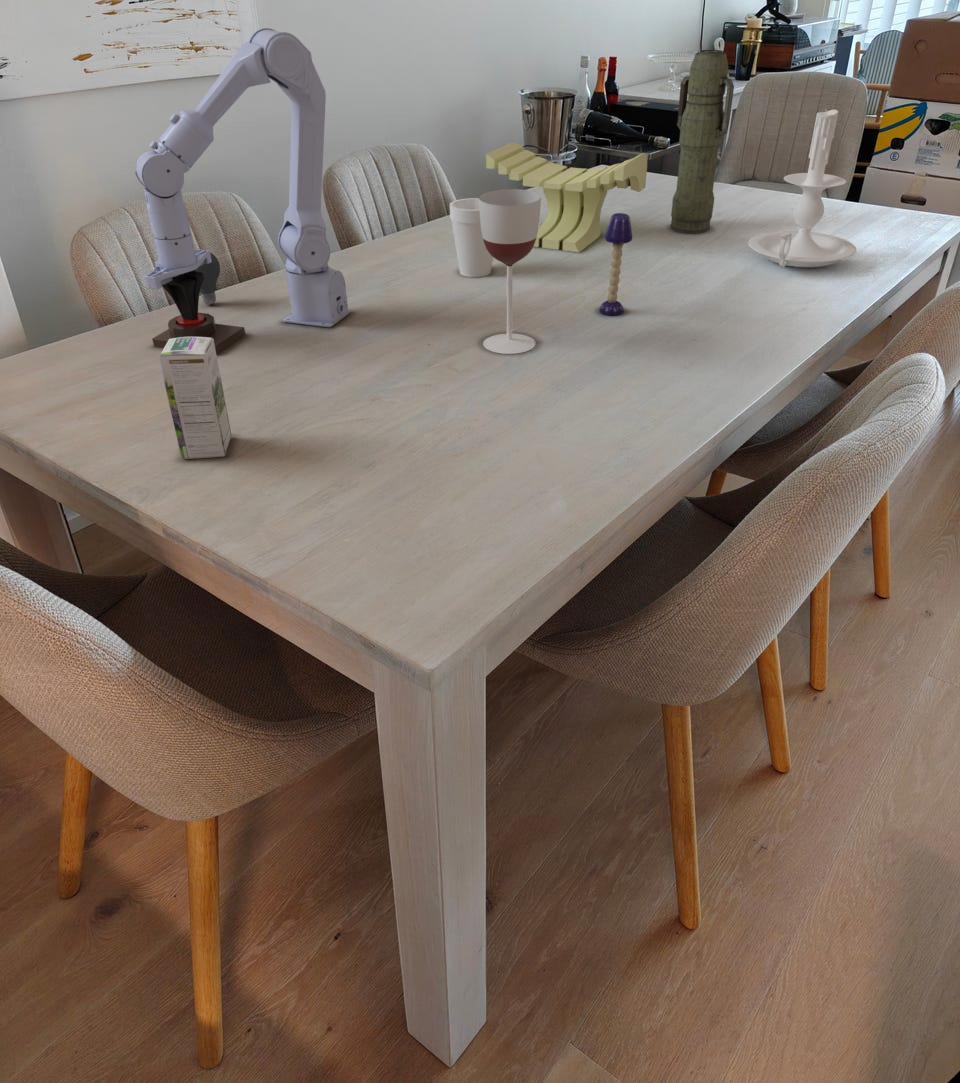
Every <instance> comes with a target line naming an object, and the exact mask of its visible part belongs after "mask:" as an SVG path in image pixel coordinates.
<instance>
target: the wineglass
mask: <svg viewBox="0 0 960 1083" xmlns="http://www.w3.org/2000/svg"><path fill="white" fill-rule="evenodd" d="M541 196H542V195H541V194H540V193H538V192H536V191H533V190H528V189H521V188H519V189H518V188H507V189H505V188H504V189H496V190H491V191H488V192H484V193H482V194H480V195H479V197H478V198H479V210H480V223H481V231H482V237H483V241H484V244H485V247H486V249H487V250H488V252H489V253H490V254H491V255H492V256H493V259H495V260H496V261H498V262H500V263H502V264H503V265H506V333H500V334H494V335H492V336H489V337H487V338H486V339H484V340H483V343H482V345H483V347H484V348H485V349H487V350H488V351H490V352H493V353H498V354H503V355H504V354H505V355H513V354H515V355H516V354H521V353H526V352H528V351H530V350H533V349H534V348H535V347H536V344H537V343H536V341H535V339H533V338H532V337H531V336H528V335H525V334H520V333H513V266H514V265H515V264H516V263H518V262H520V261H521V260H523V259H525V258H526V257H527V256H528V255H529V254H530V253H531V251H532V250H533V248H534V247H533V246H534V244H535V241H536V238H537V233H538V228H539V227H540V226H539V225H540V216H541V203H542V202H541V201H542V200H541V199H542V197H541Z"/></svg>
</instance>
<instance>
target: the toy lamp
mask: <svg viewBox="0 0 960 1083" xmlns="http://www.w3.org/2000/svg"><path fill="white" fill-rule="evenodd" d="M604 240H605V241H606V242H608V243H611V244H612V248H613V249H612V252H611V256H612V258H611V261H610V265H611V267H610V271H609V274H610V276H609V280H608V282H609V284H608V289H607V290H608V291H607V292H608V293H607V298H606V299H607V300H605V301H603V302H602V303H601V304H600V307H599V312H600V313H601V314H602V315H605V316H612V317H613V316H620V315H622V314H623V313H624V305H623V304H622V303H621V302H620V301H618V292H619V283H620V274H621V265H622V257H623V250H622V249H623V247H624V244H628V243H631V242H632V241H633V230H632V224H631V217H630V215H629V214H626V213H624V212H623V213H622V212H617V213H613V214H611V217H610V219H609V222H608V225H607V227H606V231H605V234H604Z"/></svg>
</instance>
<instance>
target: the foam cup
mask: <svg viewBox="0 0 960 1083" xmlns="http://www.w3.org/2000/svg"><path fill="white" fill-rule="evenodd" d="M449 219H450V220H451V227H452V233H453V240H454V244H455V251H456V258H457V264H458V270H459V274H460V275H462V276H463V277H468V278H481V277H486V276H489V275H491V273H492V269H493V268H492V267H493V259H494V257H493V256H492V255H491V254H490V253H489V252H488V250H487V249H486V247H485V244H484V241H483V237H482V231H481V223H480V210H479V197H468V198H460V199H455V200H453V201H452V202H450V203H449Z"/></svg>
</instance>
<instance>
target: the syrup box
mask: <svg viewBox="0 0 960 1083" xmlns="http://www.w3.org/2000/svg"><path fill="white" fill-rule="evenodd" d="M158 360H159V365H160V368H161V370H160V371H161V373H162V378H163V382H164V387H165V391H166V396H167V401H168V405H169V409H170V414H171V419H172V422H173V427H174V432H175V436H176V439H177V445H178V449H179V453H180V458H181V459H183V460H191V459H192V460H193V459H194V460H195V459H208V458H223V457H226V455H227V451H228V449H229V446H230V442H231V440H232V431H231V430H232V429H231V425H230V420H229V419H230V418H229V414H228V409H227V404H226V399H225V398H226V397H225V393H224V388H223V381H222V377H221V372H220V367H219V366H220V365H219V361H218V354H217V355H216V350H215V345H214V339H213V338H209V337H179V338H172V339H169V340H168V342H167V344H166V346H165V347H164V348H162V351H161V352H160V355H159V356H158Z"/></svg>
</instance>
